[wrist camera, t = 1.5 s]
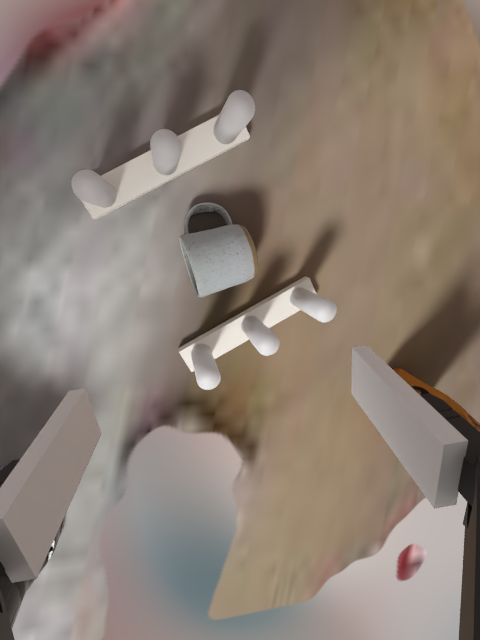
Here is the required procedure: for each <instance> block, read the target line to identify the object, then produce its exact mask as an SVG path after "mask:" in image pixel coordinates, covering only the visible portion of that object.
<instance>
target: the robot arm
mask: <svg viewBox="0 0 480 640" xmlns="http://www.w3.org/2000/svg"><path fill="white" fill-rule="evenodd" d="M352 396H353V397H354V398H355V400H356V401H357V402H358V404H359V405H360V407H361V408H362V409H363V411H364V412H365V413H366V415H367V416H368V418H369V419H370V420H371V422H372V423H373V425H374V426H375V427H376V429H377V430H378V431H379V433H380V434H381V436H382V437H383V438H384V440H385V441H386V442H387V444H388V445H389V447H390V448H391V449H392V451H393V452H394V454H395V455H396V456H397V458H398V459H399V460H400V462H401V463H402V465H403V466H404V467H405V469H406V470H407V472H408V473H409V474H410V476H411V477H412V478H413V480H414V481H415V483H416V484H417V485H418V487H419V488H420V489H421V491H422V492H423V494H424V495H425V496H426V498H427V499H428V500H429V502H430V503H431V505H432V506H433V507H434V508H439V507H445V506H450V505H455V504H456V502H457V497H458V492H460V494H461V495H462V496H463V497H464V498H465V499H466V501H467V507H466V512H465V517H464V521H463V525H465V539H464V556H463V575H462V592H461V593H462V594H461V609H460V627H459V640H480V432H479V431H478V430H477V429H476V428H475V427H473V426H472V425H471V424H470V423H469V422H468V421H467V420H465V419H464V418H463V417H461V415H460V414H459V413H457V412H456V411H455V410H453V408H452V407H450V406H449V405H448V404H447V403H446V402H445V401H444V400H442V399H440V398H438V397H436V396H434V395H432V394H430V393H427V394H421V395H419V394H418V393H417V392H416V391H415V390H414V389H413V388H412V387H411V386H410V385H409V384H408V383H406V382H405V381H404V380H403V379H402V378H401V377H400V376H399V375H398V374H397V373H396V372H395V371H394V370H393V369H392V368H391V367H389V366H388V365H387V364H386V363H385V362H384V361H383V360H382V359H381V358H380V357H379V356H378V355H377V354H376V353H375V352H374V351H372V350H371V349H370V348H369V347H368V346H361V347H354V348H352ZM100 436H101V431H100V429H99V426H98V423H97V420H96V417H95V414H94V412H93V409H92V406H91V403H90V400H89V397H88V395H87V392H86V389H85V388H84V389H77V390H71V391H69V392H68V393H67V394H66V396H65V397H64V399H63V400H62V401H61V403H60V404H59V406H58V407H57V408H56V410H55V411H54V413H53V414H52V415H51V417H50V418H49V420H48V421H47V423H46V424H45V425H44V427H43V428H42V430H41V431H40V432H39V434H38V435H37V437H36V438H35V439H34V441H33V442H32V444H31V445H30V446H29V448H28V449H27V451H26V452H25V454H24V455H23V456H22V458H21V459H19V460H13V461H12V462H10V463H9V464H8V465H7V466H6V467H5V468H4V469H2V470H1V471H0V640H14V636H13V633H12V627H13V624H14V622H15V619H16V616H17V613H18V611H19V608H20V605H21V603H22V600H23V597H24V595H25V593H26V591H27V590H28V588H29V587H30V586H31V584H32V583H33V582H34V580H35V579H37V577H38V575H39V573H40V572H41V571H42V569H43V568H44V566H45V565H46V564H47V562H48V561H49V559H50V558H51V556H52V554H53V552H54V550H55V548H56V545H57V542H58V539H59V536H60V532H61V523H62V521H63V519H64V516H65V514H66V512H67V510H68V507H69V505H70V503H71V501H72V498H73V496H74V494H75V492H76V489H77V487H78V485H79V483H80V480H81V478H82V476H83V474H84V471H85V469H86V467H87V465H88V462H89V460H90V458H91V456H92V454H93V451H94V449H95V447H96V445H97V442H98V440H99V438H100Z"/></svg>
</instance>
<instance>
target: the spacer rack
mask: <svg viewBox="0 0 480 640" xmlns="http://www.w3.org/2000/svg"><path fill="white" fill-rule="evenodd" d="M254 113H255V104H254V100H253V98H252V97H251V95H250V94H249V93H247V92H246V91H243V90H236V91H234V92H232V93H231V94H230V95H229V97H228V99H227V101H226V103H225V105H224V107H223V109H222V111H221V113H220V114H219V115H217V116H216V117H214V118H212V119H210V120H208V121H206V122H204V123H202V124H200V125H198V126H196V127H194V128H192V129H190V130H188V131H186V132H185V133H183V134H181V135H179V136H177V135H176V134H175V133H174V132H172V131H170V130H168V129H160V130H158V131H156V132H155V133H154V134H153V135H152V137H151V141H150V147H151V150H150V151H148V152H146V153H144V154H142V155H140V156H138V157H136V158H134V159H132V160H130V161H128V162H126V163H125V164H123V165H121V166H119V167H117V168H115V169H113V170H111V171H109V172H107V173H105V174H103V175H101V176H100V175H98V174H97V173H96V172H94V171H92V170H88V169H84V170H80V171H78V172H76V173H75V174H74V176H73V178H72V182H71V185H72V189H73V192H74V193H75V195H76V196H77V197H78V198H79V199H81V201H82V203H83V204H84V206H85V207H86V209H87V210H88V212H89V213H90V215H91V216H92V218H93V220H97V219H99V218H101V217H102V216H104V215H106V214H108V213H110V212H112V211H114V210H116V209H118V208H120V207H121V206H123V205H125V204H127V203H129V202H131V201H133V200H135V199H137V198H139V197H140V196H142V195H144V194H146V193H148V192H150V191H152V190H154V189H156V188H158V187H159V186H161V185H163V184H165V183H167V182H169V181H171V180H173V179H175V178H177V177H179V176H180V175H182V174H184V173H186V172H188V171H190V170H192V169H194V168H196V167H198V166H199V165H201V164H203V163H205V162H207V161H209V160H211V159H213V158H215V157H217V156H218V155H220V154H222V153H224V152H226V151H228V150H230V149H232V148H234V147H236V146H237V145H239V144H241V143H243V142H245V141H247V140H248V139H249V138H250V135H249V133H248V131H247V128H246V125H247V124H248V123H249V122H250V120H251V119H252V118H253V116H254ZM299 310H302V311H304V312H305V313H307V314H309V315H310V316H312V317H314V318H315V319H317V320H319V321H320V322H329V321H330V320H332V319H333V318H334V316H335V315H336V311H337V308H336V305H335V303H334V302H333V301H331V300H329V299H327V298H324V297H322V296H320V295H318V294H316V292H315V290H314V287H313V285H312V283H311V280H310V278H308V277H306V276H305V277H303V278H301V279H300V280H298V281H296V282H294V283H292V284H291V285H289V286H287V287H285V288H284V289H282V290H280V291H278V292H277V293H275V294H273V295H271V296H270V297H268V298H266V299H264V300H262V301H261V302H259V303H257V304H255V305H254V306H252V307H250V308H248V309H247V310H245V311H243V312H241V313H240V314H238V315H236V316H234V317H232V318H231V319H229V320H227V321H225V322H224V323H222V324H220V325H218V326H217V327H215V328H213V329H211V330H209V331H208V332H206V333H204V334H202V335H201V336H199V337H197V338H195V339H194V340H192V341H190V342H188V343H187V344H185V345H183V346H181V347H179V348H178V350H179V353H180V355H181V356H182V358H183V359H184V361H185V362H186V364H187V366H188V367H189V369H190V370H191V372H193V371H195V375H196V380H197V383H198V385H199V386H200V387H201V388H202V389H205V390H210V389H213V388H215V387H216V386H217V385H218V384H219V383H220V380H221V376H220V373H219V370H218V368H217V365H216V362H215V360H214V359H216V358H218V357H219V356H221V355H223V354H224V353H226V352H228V351H230V350H231V349H233V348H235V347H237V346H238V345H240V344H242V343H244V342H245V341H247V340H250V341H251V342H252V344H253V345H254V346H255V347H256V349H257V350H258V351H259V353H261V354H262V355H266V356H268V355H272V354H274V353H275V352H276V351H277V350H278V348H279V339H278V337H277V336H276V335H275V334H274V333H273V332H272V331H271V330H270V329H269V328H270V327H272V326H273V325H275V324H277V323H279V322H280V321H282V320H284V319H285V318H287V317H289V316H291V315H292V314H294V313H296V312H298V311H299Z"/></svg>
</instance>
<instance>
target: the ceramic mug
mask: <svg viewBox="0 0 480 640" xmlns="http://www.w3.org/2000/svg"><path fill="white" fill-rule="evenodd" d="M213 211H215V212H218V213H219V214H220V215H222V216H223V218H224V219H225V221H226V223H227V225H226V226H222V227H218V228H215V229H210V230H205V231H200V232H196V233H191V234H190V233H189V232H188V223H189V220H190V218H191V216H192V215H194V214H196V213H202V212H213ZM184 226H185V235H182V236H180V245H181V249H182V254H183V256H184V260H185V264H186V267H187V270H188V273H189V276H190V279H191V282H192V285H193V288H194V290H195V292H196V294H197V296H198V297H204V296H207V295H209V294H212V293H215V292H218V291H221V290H224V289H227V288H229V287H232V286H235V285H238V284H242V283H244V282H246V281H248V280H250V279H252V278H253V277H255V275H256V274H257V271H258V258H257V252H256V249H255V245H254V243H253V240H252V238H251V236H250V233H249V232H248V230H247V229H246V228H245V227H243V226H242V225H233V224H232V220H231V218H230V216H229V214H228V213H227V211H226V210H225V209H224V208H223V207H221V206H220V205H218V204H215V203H210V202H205V203H199V204H197V205H194V206H193V207H192V208H191V209H190V210H189V211H188V213H187V215H186V218H185V225H184Z"/></svg>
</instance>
